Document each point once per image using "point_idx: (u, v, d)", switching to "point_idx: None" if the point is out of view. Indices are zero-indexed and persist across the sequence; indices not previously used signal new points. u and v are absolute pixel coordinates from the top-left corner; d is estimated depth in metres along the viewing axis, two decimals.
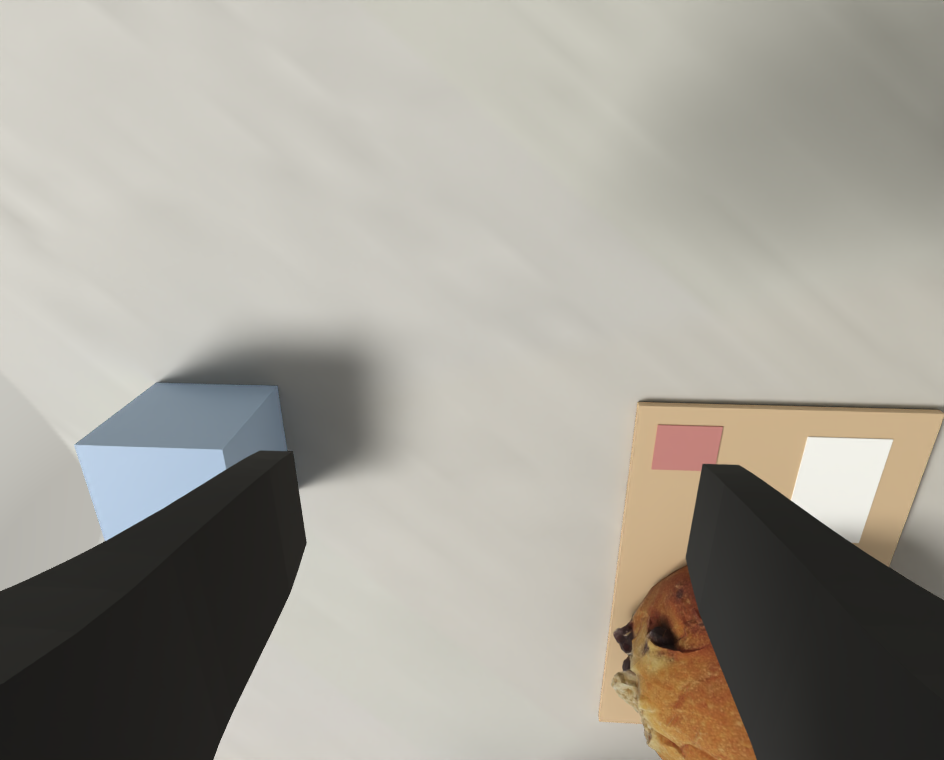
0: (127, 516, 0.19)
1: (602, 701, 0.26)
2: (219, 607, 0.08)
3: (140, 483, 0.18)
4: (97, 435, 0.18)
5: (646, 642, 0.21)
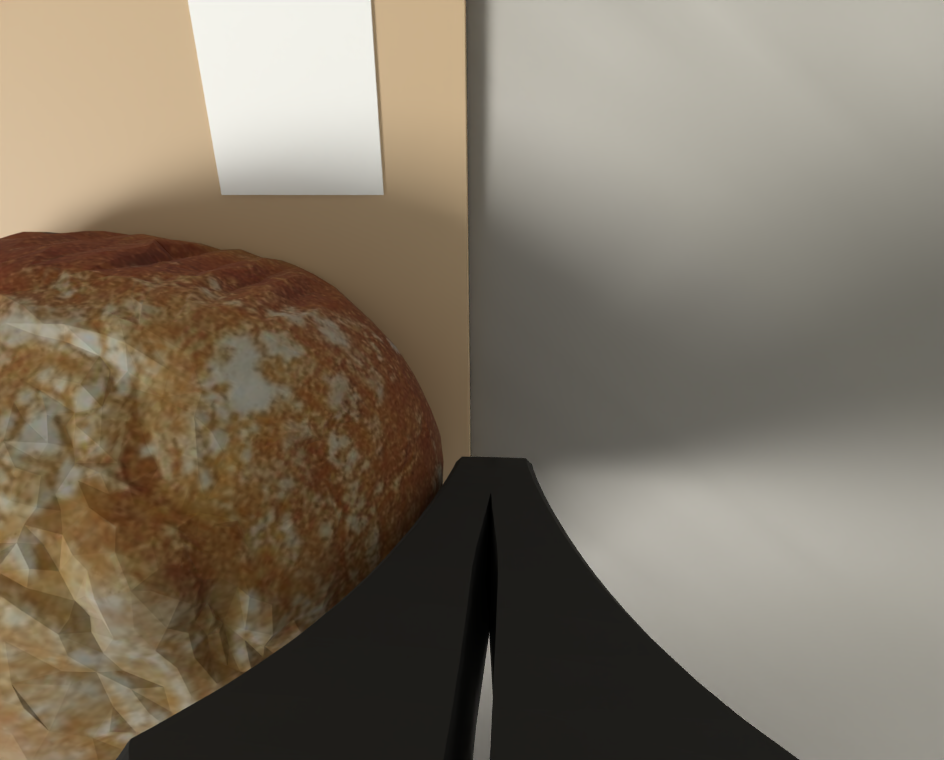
0: None
1: None
2: (477, 619, 0.08)
3: None
4: None
5: None
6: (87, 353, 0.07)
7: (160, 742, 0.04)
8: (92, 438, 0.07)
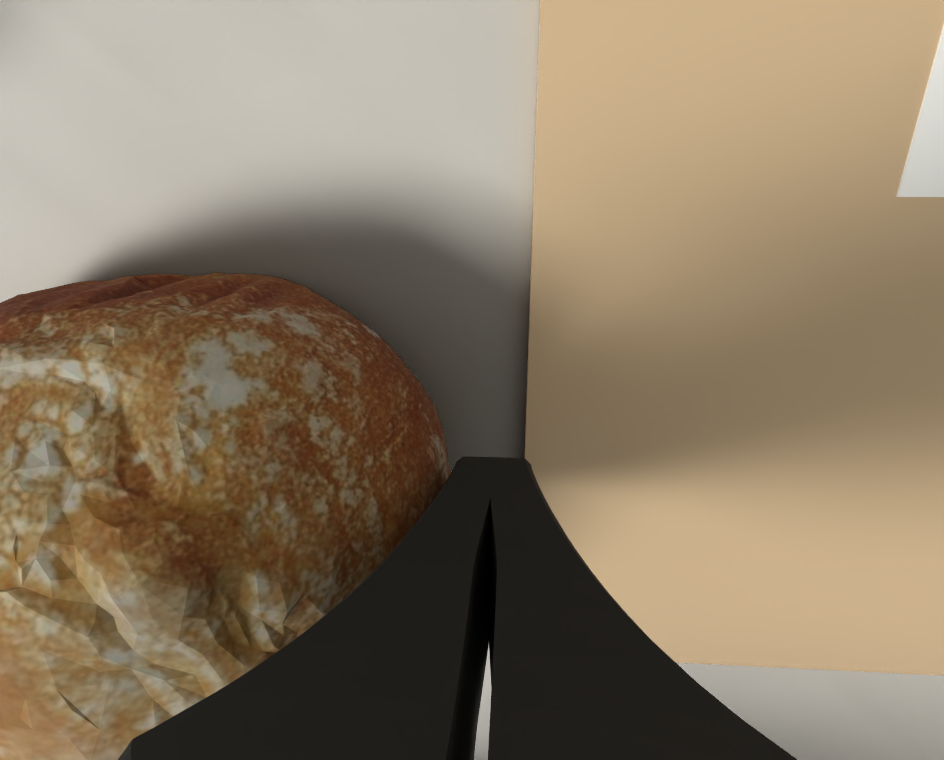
0: None
1: None
2: (479, 619, 0.08)
3: None
4: None
5: None
6: (73, 380, 0.08)
7: (161, 743, 0.04)
8: (88, 454, 0.07)
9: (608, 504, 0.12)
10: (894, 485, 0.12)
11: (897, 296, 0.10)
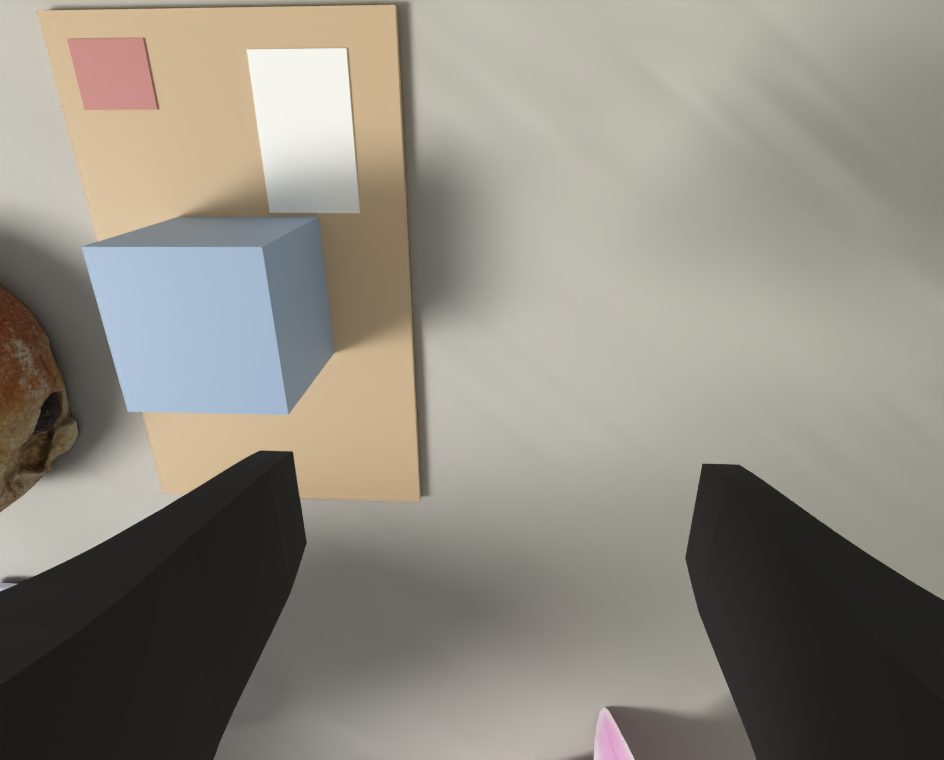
0: (145, 345, 0.15)
1: (157, 464, 0.22)
2: (219, 607, 0.08)
3: (161, 299, 0.15)
4: (109, 242, 0.15)
5: None
6: None
7: None
8: None
9: None
10: (335, 376, 0.20)
11: None
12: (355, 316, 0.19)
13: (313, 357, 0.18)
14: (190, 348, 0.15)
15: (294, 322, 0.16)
